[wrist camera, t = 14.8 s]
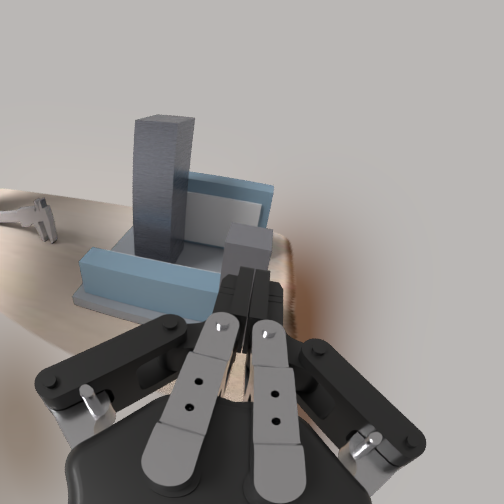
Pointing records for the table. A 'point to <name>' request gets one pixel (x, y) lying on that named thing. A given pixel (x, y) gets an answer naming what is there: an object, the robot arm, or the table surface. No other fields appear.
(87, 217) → the table surface
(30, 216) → the caliper
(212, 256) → the vise base
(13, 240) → the table surface
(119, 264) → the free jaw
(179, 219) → the steel block
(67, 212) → the table surface
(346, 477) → the robot arm
